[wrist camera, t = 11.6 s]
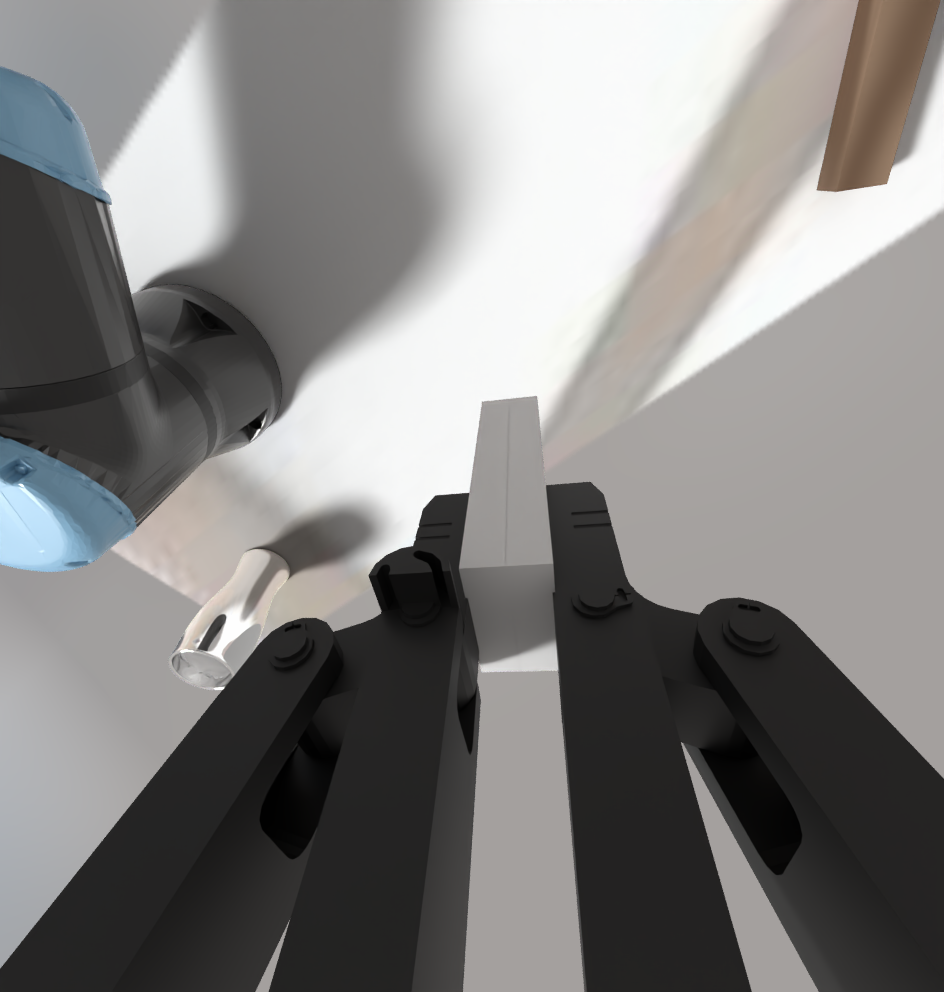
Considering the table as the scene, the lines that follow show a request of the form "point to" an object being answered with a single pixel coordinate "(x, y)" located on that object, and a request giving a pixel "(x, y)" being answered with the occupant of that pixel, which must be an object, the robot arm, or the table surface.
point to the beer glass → (229, 623)
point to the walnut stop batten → (875, 91)
